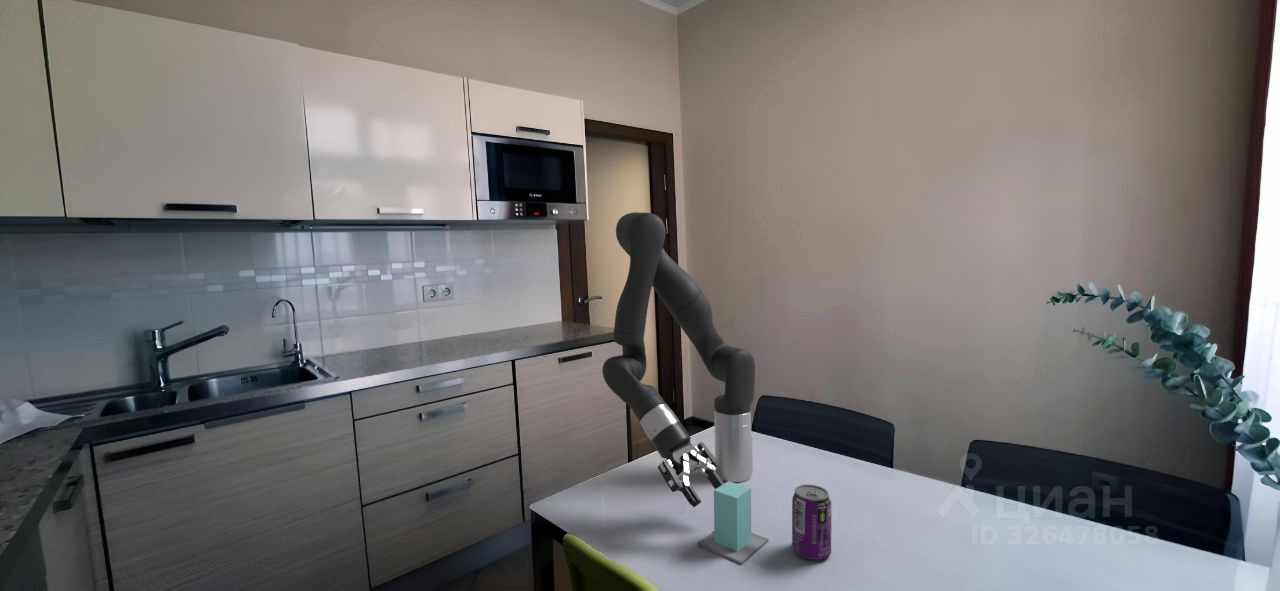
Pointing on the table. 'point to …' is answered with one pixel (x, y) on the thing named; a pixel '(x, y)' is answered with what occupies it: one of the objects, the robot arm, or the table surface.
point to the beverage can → (811, 522)
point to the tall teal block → (732, 515)
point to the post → (731, 554)
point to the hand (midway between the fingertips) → (709, 496)
